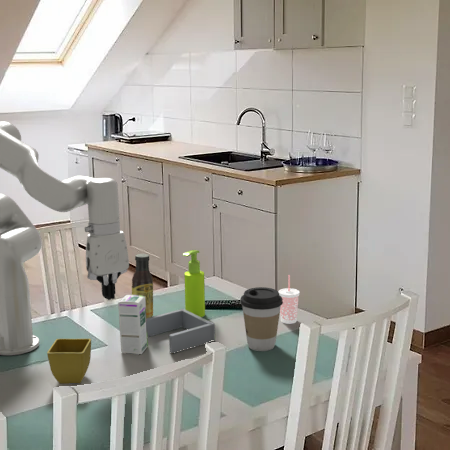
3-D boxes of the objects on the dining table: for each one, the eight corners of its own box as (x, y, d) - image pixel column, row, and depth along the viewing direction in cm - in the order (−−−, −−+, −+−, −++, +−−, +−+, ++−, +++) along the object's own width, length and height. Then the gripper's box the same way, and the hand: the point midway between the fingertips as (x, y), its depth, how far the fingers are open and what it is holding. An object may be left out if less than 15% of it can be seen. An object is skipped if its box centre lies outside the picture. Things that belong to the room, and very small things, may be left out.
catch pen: (172, 354, 190) (171, 336, 189) (142, 336, 202) (141, 319, 201) (214, 341, 199) (214, 323, 197) (183, 324, 210) (183, 308, 209)
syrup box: (141, 355, 190) (139, 302, 187) (120, 353, 191) (117, 301, 188) (148, 346, 195) (146, 295, 192) (127, 344, 197) (125, 293, 193)
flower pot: (48, 387, 172) (46, 352, 170) (58, 371, 181) (56, 338, 179) (85, 388, 172) (83, 352, 170) (93, 372, 180) (91, 338, 178)
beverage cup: (288, 326, 208) (288, 279, 205) (273, 320, 213) (274, 274, 210) (303, 321, 212) (304, 275, 209) (289, 315, 217) (289, 270, 213)
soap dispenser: (178, 316, 217) (177, 251, 212) (194, 310, 222) (193, 246, 217) (193, 320, 213) (191, 255, 209) (209, 314, 218) (208, 250, 214)
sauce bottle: (137, 325, 210) (134, 259, 205) (128, 319, 215) (125, 254, 210) (157, 321, 213) (155, 256, 208) (148, 315, 218) (146, 251, 214)
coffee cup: (240, 337, 201) (240, 285, 197) (282, 337, 200) (282, 285, 197) (239, 354, 190) (239, 299, 186) (283, 354, 189) (283, 300, 186)
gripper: (84, 236, 174) (89, 308, 178) (138, 225, 182) (142, 295, 187) (70, 230, 180) (75, 300, 184) (123, 220, 188) (127, 288, 193)
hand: (109, 297), depth 185 cm, fingers closed
